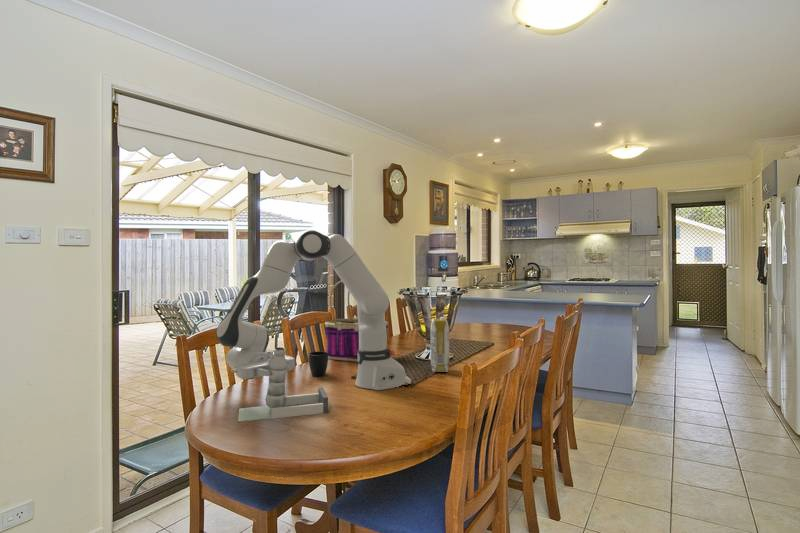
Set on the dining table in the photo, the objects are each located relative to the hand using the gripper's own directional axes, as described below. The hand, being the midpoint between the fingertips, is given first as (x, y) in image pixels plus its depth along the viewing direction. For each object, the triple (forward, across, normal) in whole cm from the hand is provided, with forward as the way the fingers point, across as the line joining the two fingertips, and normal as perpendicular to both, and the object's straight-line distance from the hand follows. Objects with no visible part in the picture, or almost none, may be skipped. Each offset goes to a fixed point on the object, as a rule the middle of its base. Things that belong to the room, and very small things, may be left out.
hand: (279, 371), depth 150 cm
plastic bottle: (-3, 0, +13) cm, 13 cm away
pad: (-4, -6, +14) cm, 16 cm away
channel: (+2, +5, +14) cm, 15 cm away
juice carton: (+8, +77, +14) cm, 78 cm away
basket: (-40, +70, +14) cm, 82 cm away
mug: (-28, +38, +14) cm, 50 cm away
